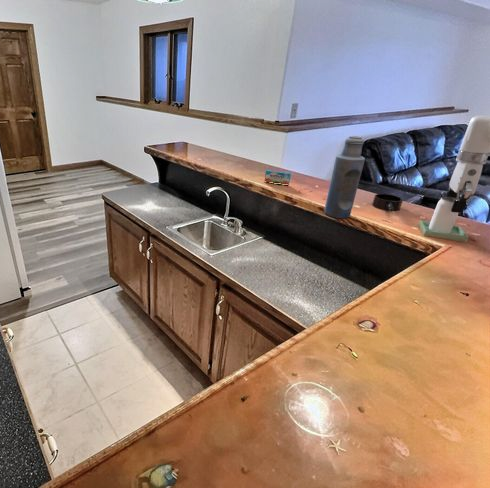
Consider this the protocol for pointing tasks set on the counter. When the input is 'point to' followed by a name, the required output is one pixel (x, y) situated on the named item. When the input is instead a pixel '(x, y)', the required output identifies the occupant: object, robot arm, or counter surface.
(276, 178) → the teal printed box
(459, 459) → the counter surface
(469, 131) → the robot arm
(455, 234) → the tray
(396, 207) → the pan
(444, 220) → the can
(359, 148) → the bottle
